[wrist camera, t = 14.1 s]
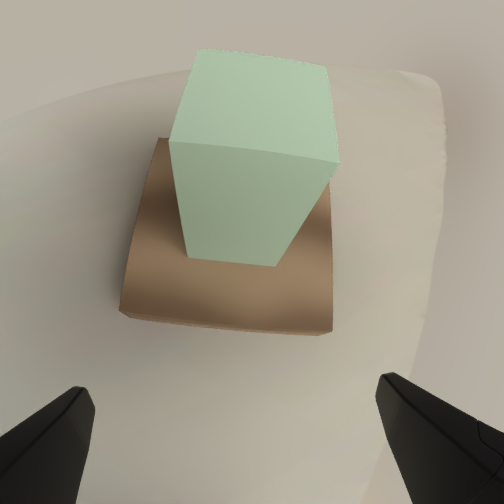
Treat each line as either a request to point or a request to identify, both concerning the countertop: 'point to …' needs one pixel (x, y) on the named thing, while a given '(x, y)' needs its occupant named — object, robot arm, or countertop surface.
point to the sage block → (250, 154)
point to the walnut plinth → (225, 271)
